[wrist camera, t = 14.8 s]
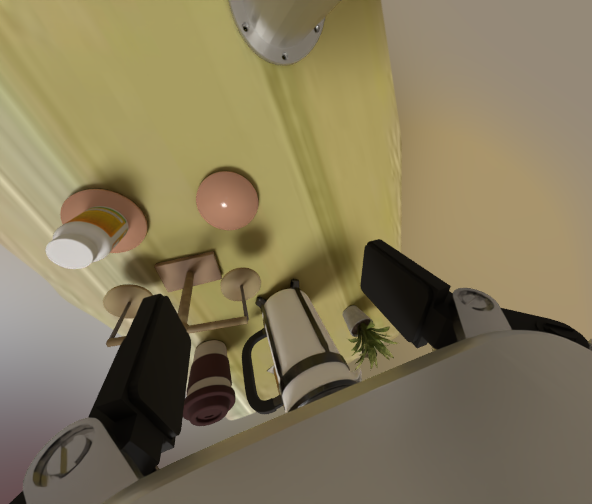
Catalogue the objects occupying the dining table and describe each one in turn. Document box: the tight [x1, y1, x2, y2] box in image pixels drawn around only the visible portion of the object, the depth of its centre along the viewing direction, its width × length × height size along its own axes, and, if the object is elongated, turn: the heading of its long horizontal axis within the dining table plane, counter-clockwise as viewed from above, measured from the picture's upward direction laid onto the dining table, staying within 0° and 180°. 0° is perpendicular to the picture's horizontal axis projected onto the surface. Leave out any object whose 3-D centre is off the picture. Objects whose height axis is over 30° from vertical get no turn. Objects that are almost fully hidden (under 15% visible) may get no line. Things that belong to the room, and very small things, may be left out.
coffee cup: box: [183, 340, 235, 426], centre depth 46 cm, size 10×10×15 cm
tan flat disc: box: [61, 189, 148, 253], centre depth 32 cm, size 10×10×1 cm
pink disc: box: [196, 171, 258, 230], centre depth 36 cm, size 10×10×1 cm
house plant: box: [343, 305, 397, 370], centre depth 56 cm, size 14×14×16 cm
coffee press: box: [242, 279, 361, 414], centre depth 40 cm, size 17×16×30 cm
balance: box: [103, 251, 261, 347], centre depth 33 cm, size 24×7×17 cm, turn 95°
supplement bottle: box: [46, 206, 128, 269], centre depth 27 cm, size 5×5×10 cm
